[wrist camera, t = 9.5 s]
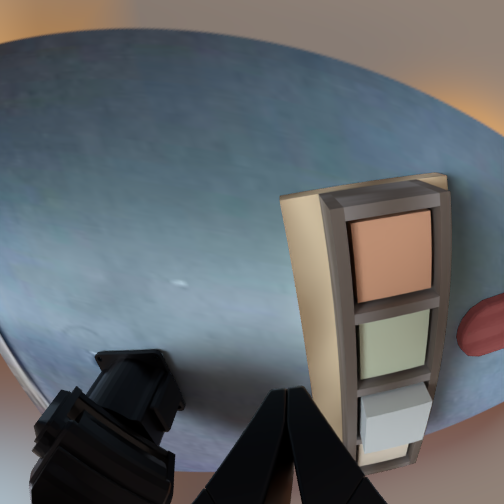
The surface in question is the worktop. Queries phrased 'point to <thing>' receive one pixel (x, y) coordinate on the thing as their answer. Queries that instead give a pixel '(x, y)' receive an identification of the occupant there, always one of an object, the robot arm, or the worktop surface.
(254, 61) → the worktop surface
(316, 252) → the brown long open box
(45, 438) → the robot arm
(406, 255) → the terracotta key
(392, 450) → the ivory key
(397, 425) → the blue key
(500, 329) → the popsicle
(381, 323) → the sage key
